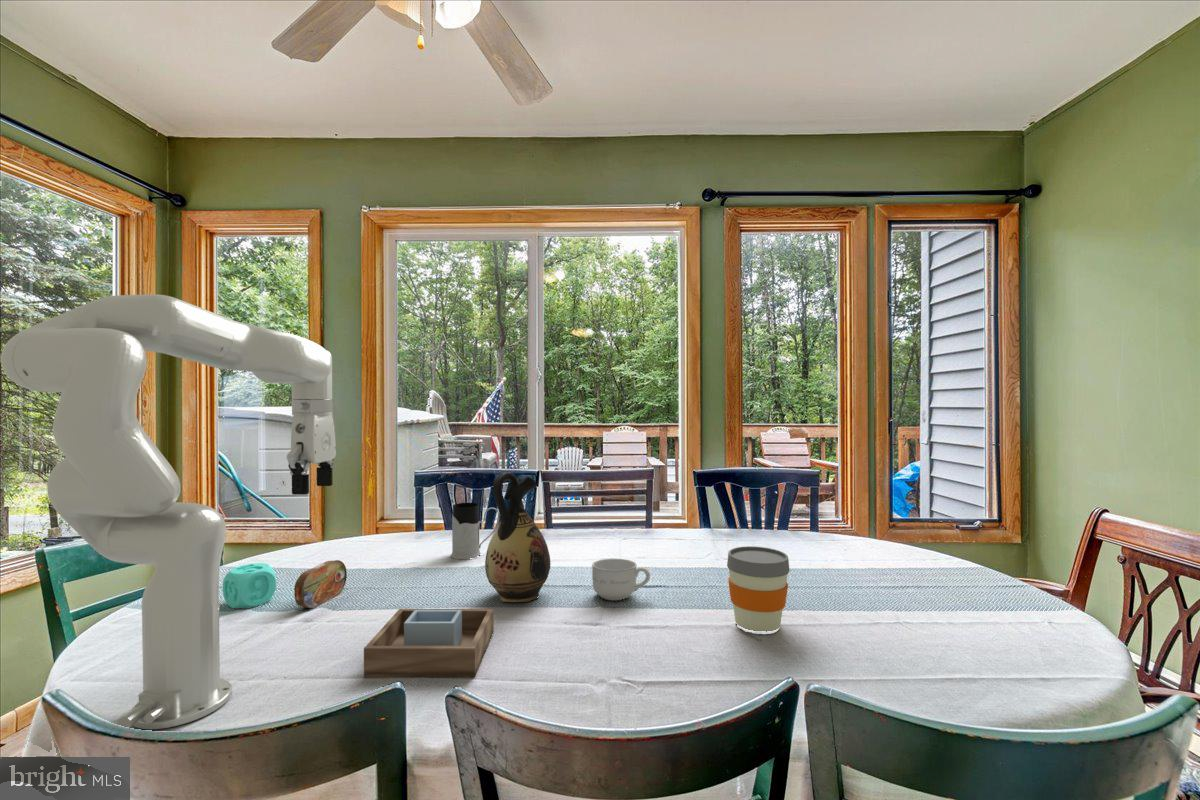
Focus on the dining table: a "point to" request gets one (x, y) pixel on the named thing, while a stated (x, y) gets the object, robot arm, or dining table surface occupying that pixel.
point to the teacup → (616, 578)
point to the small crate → (433, 628)
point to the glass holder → (467, 530)
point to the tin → (320, 584)
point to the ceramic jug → (516, 545)
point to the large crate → (429, 649)
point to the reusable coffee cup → (758, 586)
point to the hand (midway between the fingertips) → (313, 489)
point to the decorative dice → (249, 585)
